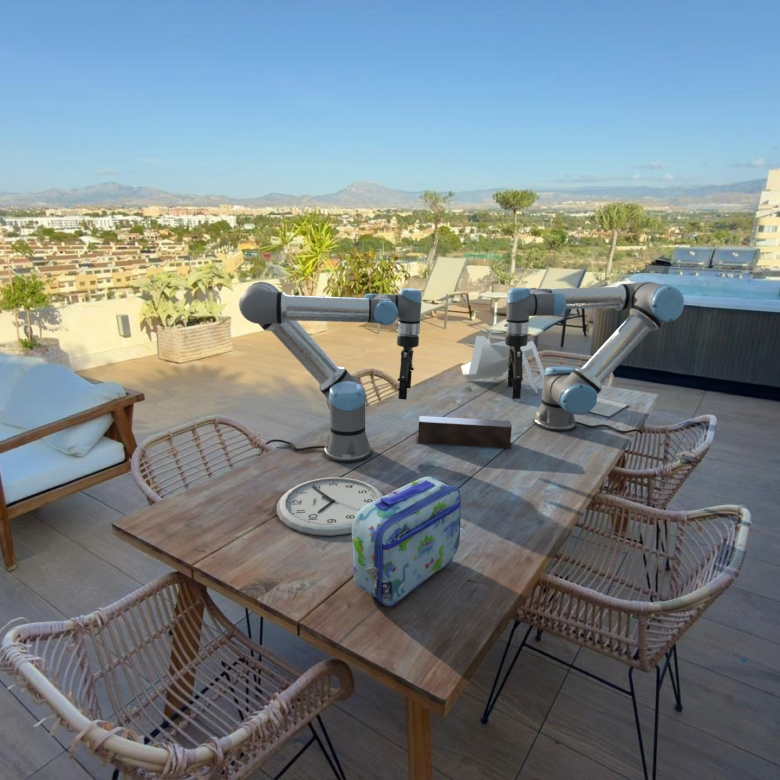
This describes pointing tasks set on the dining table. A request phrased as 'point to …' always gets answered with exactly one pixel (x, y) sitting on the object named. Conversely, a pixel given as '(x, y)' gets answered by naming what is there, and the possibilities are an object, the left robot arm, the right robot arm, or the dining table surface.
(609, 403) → the invitation card
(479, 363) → the white plastic object
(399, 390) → the left robot arm
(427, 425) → the walnut beam
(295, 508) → the wall clock
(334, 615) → the dining table surface
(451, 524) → the lunch box
